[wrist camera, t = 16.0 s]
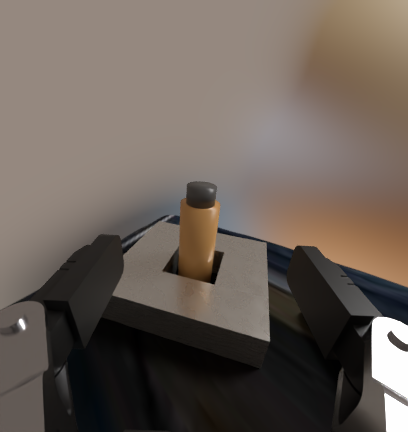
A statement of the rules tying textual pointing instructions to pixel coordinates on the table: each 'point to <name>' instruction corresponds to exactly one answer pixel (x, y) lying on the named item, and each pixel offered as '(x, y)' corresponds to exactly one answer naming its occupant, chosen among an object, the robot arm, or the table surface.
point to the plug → (198, 231)
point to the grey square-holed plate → (197, 295)
